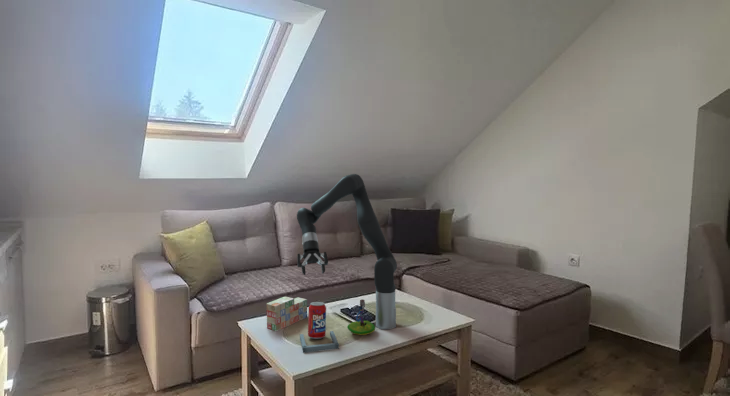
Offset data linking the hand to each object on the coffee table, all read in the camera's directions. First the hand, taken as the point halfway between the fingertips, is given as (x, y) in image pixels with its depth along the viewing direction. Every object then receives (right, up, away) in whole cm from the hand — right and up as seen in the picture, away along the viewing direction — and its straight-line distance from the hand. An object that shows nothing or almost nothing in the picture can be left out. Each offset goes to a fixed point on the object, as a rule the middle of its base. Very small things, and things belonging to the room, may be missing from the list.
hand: (314, 273), depth 203 cm
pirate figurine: (+22, -27, -3) cm, 35 cm away
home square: (+4, -28, -13) cm, 31 cm away
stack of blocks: (-14, -26, +10) cm, 31 cm away
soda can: (+2, -27, -8) cm, 28 cm away
